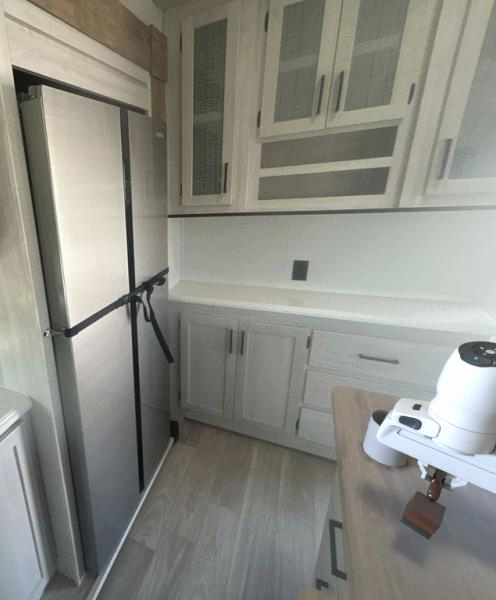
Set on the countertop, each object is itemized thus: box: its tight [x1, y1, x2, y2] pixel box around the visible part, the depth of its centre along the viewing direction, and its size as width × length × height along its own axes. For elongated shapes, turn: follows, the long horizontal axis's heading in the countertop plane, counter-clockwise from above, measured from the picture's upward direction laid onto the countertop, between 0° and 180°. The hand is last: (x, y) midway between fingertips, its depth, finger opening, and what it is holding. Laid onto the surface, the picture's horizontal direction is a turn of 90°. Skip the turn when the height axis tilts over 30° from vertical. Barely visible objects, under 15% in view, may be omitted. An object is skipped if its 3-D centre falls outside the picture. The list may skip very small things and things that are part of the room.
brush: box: [400, 468, 447, 541], centre depth 62 cm, size 14×4×6 cm, turn 128°
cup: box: [362, 409, 410, 468], centre depth 80 cm, size 8×8×10 cm
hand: (436, 483), depth 64 cm, fingers closed on brush
